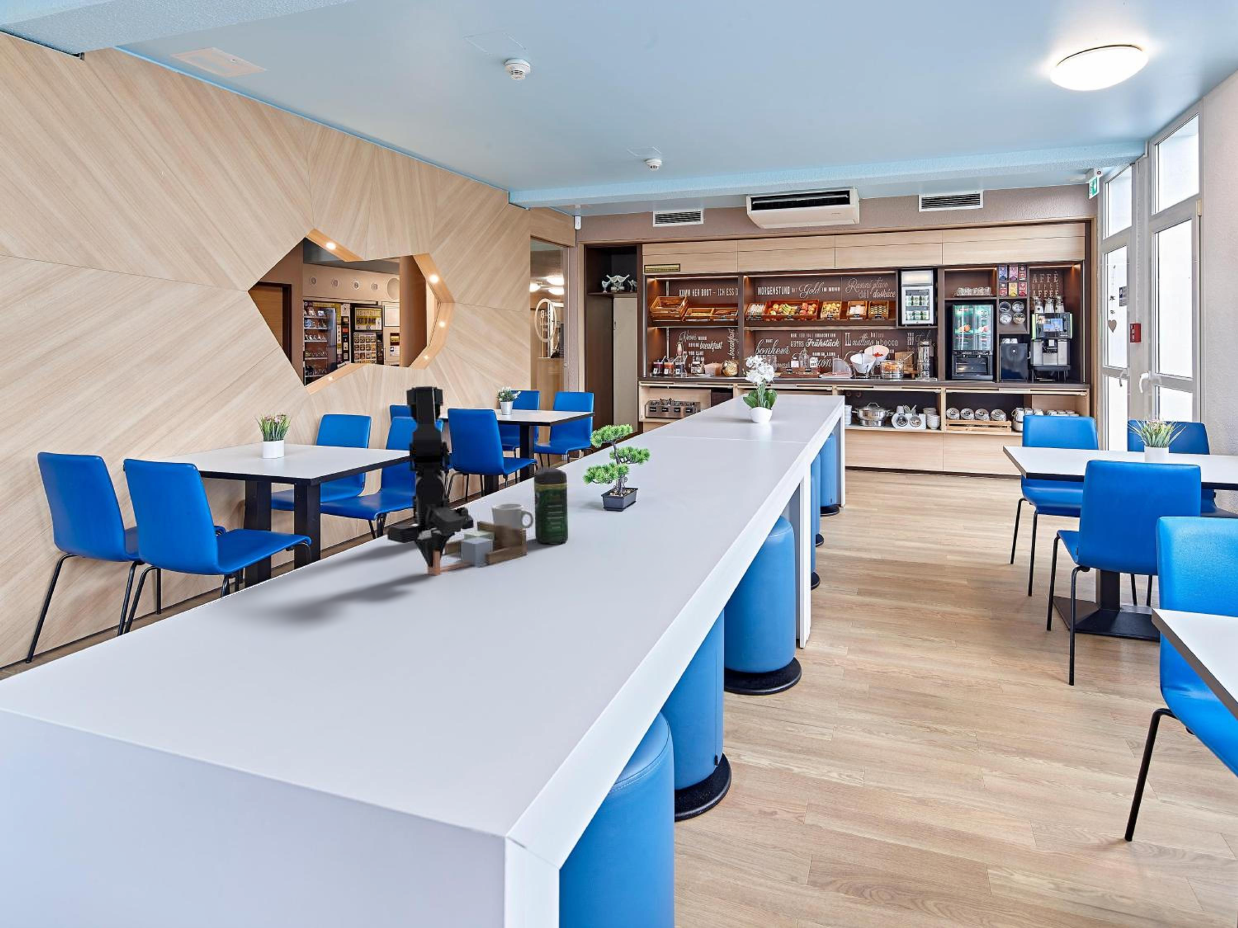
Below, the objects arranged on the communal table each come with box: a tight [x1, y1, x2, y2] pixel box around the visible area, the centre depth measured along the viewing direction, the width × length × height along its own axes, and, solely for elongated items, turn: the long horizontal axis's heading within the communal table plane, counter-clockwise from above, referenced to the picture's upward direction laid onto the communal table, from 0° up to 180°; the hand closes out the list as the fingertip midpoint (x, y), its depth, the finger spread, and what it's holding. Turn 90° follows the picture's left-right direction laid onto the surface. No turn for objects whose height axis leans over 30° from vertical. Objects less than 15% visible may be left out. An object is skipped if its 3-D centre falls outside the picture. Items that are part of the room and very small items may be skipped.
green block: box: [463, 530, 494, 541], centre depth 191 cm, size 5×5×4 cm
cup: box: [491, 502, 535, 530], centre depth 205 cm, size 11×8×8 cm
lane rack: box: [444, 520, 528, 566], centre depth 188 cm, size 16×11×6 cm
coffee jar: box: [533, 466, 569, 545], centre depth 200 cm, size 10×8×19 cm
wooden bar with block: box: [426, 537, 493, 576], centre depth 177 cm, size 5×15×5 cm, turn 139°
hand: (433, 566), depth 172 cm, fingers closed on wooden bar with block
